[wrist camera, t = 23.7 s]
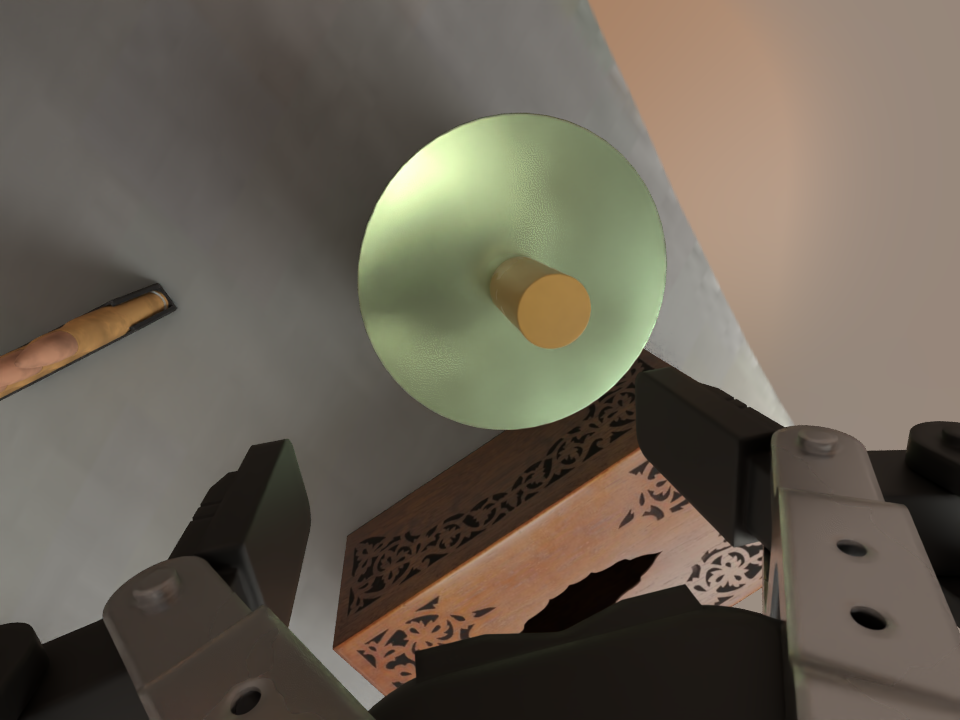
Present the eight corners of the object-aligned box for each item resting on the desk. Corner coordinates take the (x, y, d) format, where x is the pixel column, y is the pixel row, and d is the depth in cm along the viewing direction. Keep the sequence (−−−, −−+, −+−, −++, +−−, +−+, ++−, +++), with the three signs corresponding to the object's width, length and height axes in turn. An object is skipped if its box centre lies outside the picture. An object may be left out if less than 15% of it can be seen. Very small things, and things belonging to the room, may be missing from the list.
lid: (295, 316, 22) (260, 360, 16) (489, 38, 20) (529, -28, 14) (532, 467, 26) (572, 545, 20) (711, 252, 24) (811, 270, 18)
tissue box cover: (453, 646, 43) (471, 773, 33) (347, 536, 38) (332, 649, 28) (709, 479, 42) (802, 561, 32) (635, 343, 37) (719, 394, 27)
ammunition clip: (159, 281, 30) (21, 333, 19) (178, 308, 31) (56, 373, 20) (0, 363, 30) (-233, 462, 19) (23, 388, 31) (-190, 499, 20)
